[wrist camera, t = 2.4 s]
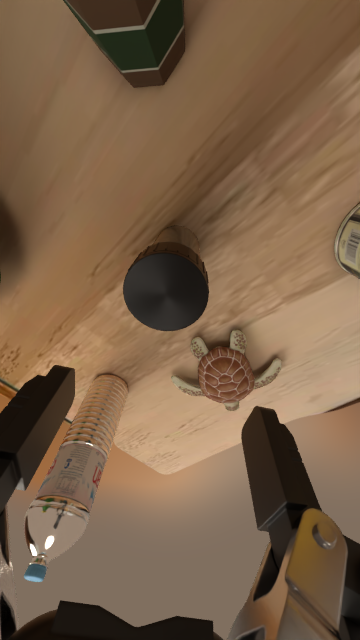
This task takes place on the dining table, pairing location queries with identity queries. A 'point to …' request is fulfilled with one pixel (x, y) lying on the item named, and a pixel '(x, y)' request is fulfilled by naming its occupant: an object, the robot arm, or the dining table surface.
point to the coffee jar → (179, 237)
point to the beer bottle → (136, 35)
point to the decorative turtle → (226, 372)
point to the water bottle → (74, 476)
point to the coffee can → (349, 243)
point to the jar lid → (167, 287)
